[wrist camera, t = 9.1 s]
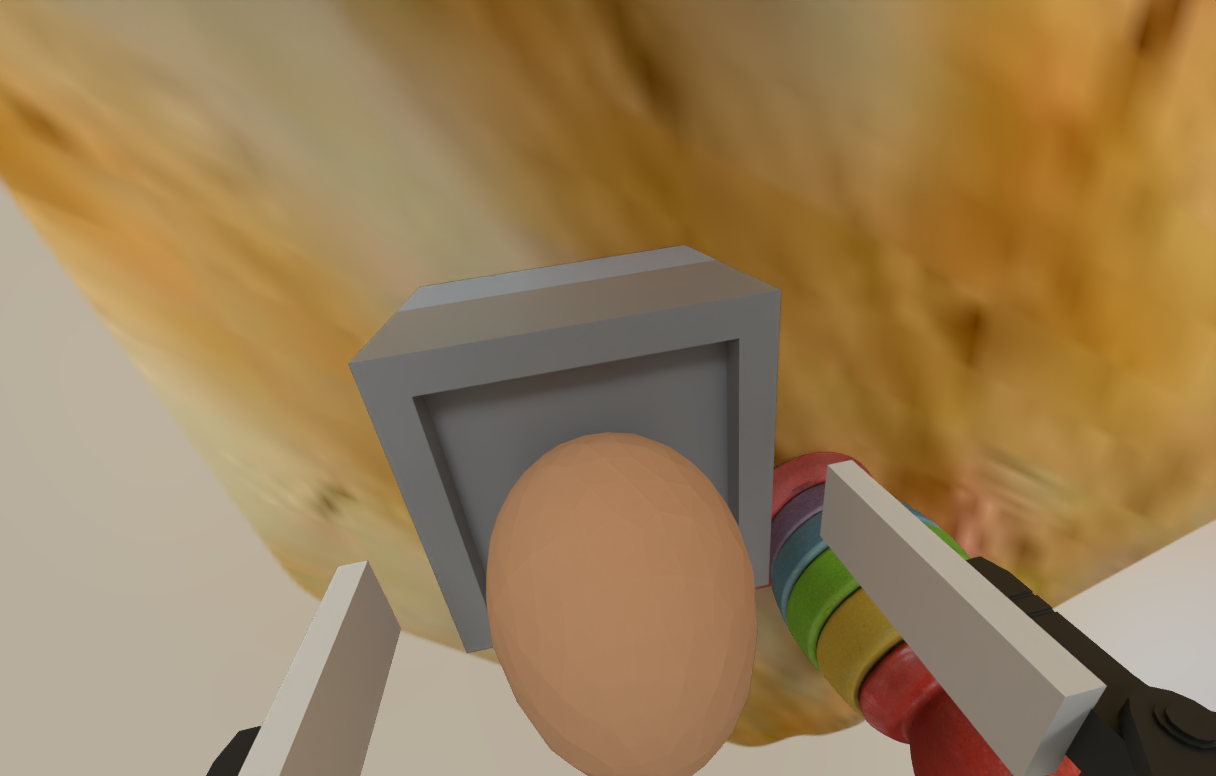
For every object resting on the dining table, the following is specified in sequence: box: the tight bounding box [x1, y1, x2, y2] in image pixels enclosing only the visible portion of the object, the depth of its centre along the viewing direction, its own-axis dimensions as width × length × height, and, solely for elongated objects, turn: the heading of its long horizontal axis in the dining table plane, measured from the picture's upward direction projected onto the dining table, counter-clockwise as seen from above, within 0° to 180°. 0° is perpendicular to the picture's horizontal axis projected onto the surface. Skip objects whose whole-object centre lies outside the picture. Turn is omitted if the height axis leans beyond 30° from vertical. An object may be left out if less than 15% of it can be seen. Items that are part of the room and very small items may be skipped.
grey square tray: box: [348, 245, 781, 653], centre depth 19 cm, size 12×12×9 cm
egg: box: [486, 432, 757, 776], centre depth 12 cm, size 7×7×9 cm
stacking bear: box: [755, 452, 1081, 776], centre depth 22 cm, size 11×10×18 cm
